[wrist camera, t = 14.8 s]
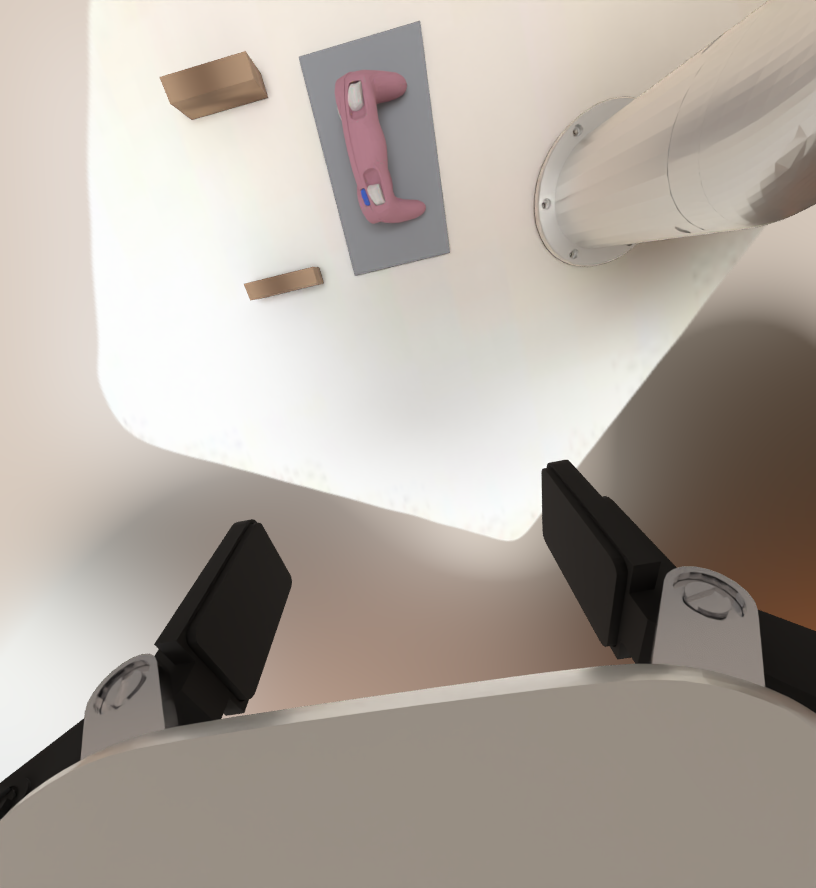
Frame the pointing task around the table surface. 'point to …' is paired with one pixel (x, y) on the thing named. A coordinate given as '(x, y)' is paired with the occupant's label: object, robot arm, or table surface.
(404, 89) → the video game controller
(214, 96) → the dock
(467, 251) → the table surface
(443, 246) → the mat
